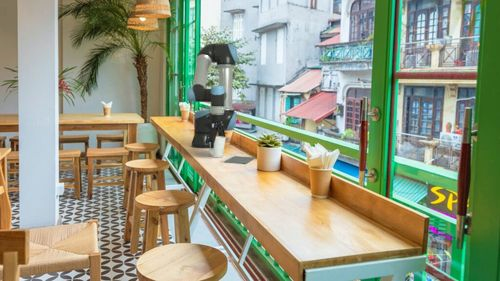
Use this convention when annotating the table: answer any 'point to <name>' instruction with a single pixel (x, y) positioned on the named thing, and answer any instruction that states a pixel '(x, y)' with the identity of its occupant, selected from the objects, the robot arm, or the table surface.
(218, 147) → the cup
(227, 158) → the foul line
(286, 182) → the table surface
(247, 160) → the mat
